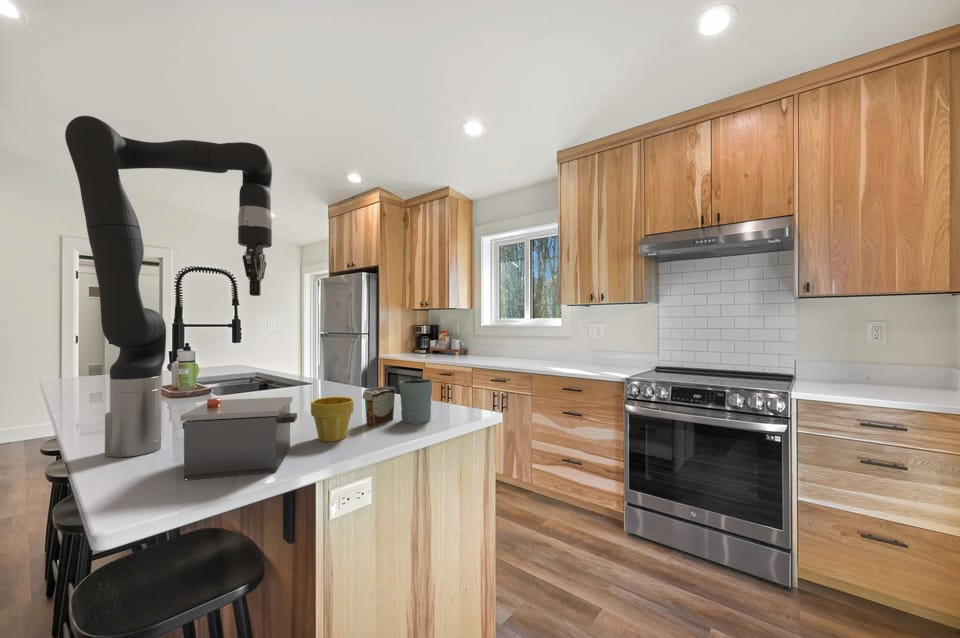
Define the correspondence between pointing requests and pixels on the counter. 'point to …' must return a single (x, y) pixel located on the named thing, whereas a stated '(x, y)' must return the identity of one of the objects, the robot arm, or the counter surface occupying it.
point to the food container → (379, 405)
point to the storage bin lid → (238, 408)
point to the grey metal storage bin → (236, 445)
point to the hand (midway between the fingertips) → (255, 295)
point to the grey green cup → (416, 400)
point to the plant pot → (332, 417)
